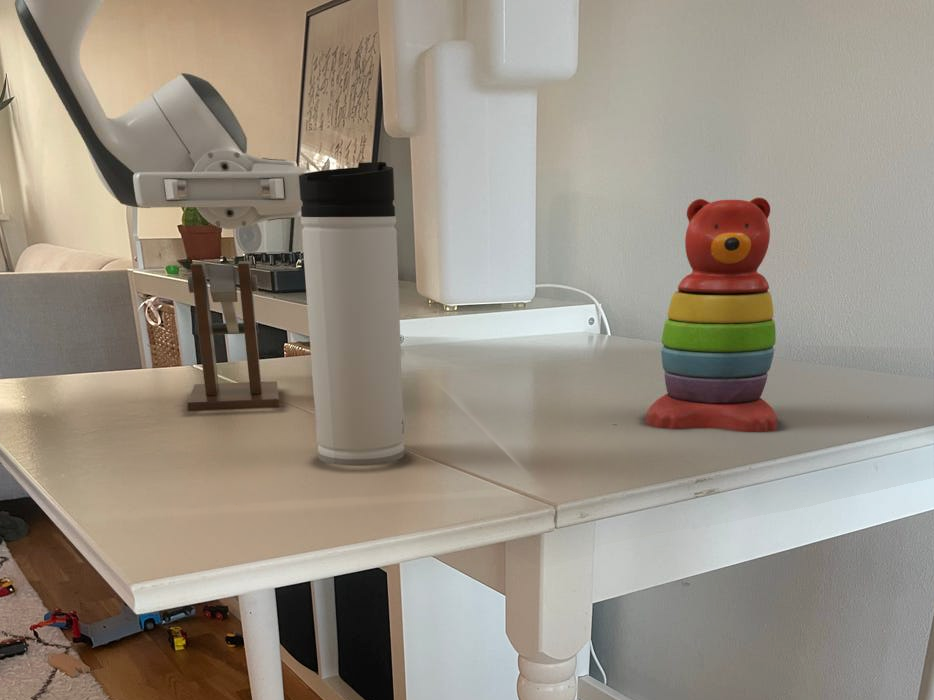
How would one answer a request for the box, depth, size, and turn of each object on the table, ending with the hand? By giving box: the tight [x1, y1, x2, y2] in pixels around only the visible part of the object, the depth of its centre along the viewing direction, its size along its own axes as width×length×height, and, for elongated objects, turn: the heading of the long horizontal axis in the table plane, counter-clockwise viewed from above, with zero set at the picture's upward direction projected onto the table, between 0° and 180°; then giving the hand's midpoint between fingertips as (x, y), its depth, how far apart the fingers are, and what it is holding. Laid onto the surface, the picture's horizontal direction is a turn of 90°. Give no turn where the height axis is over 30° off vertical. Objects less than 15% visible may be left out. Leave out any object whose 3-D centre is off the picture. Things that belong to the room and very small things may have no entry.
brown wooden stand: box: [186, 260, 280, 412], centre depth 89 cm, size 10×8×13 cm
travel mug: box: [299, 161, 405, 467], centre depth 67 cm, size 6×7×20 cm
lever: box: [207, 264, 259, 336], centre depth 94 cm, size 16×5×2 cm, turn 11°
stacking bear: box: [645, 197, 778, 433], centre depth 81 cm, size 11×10×18 cm
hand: (223, 188), depth 107 cm, fingers open, 8 cm apart
